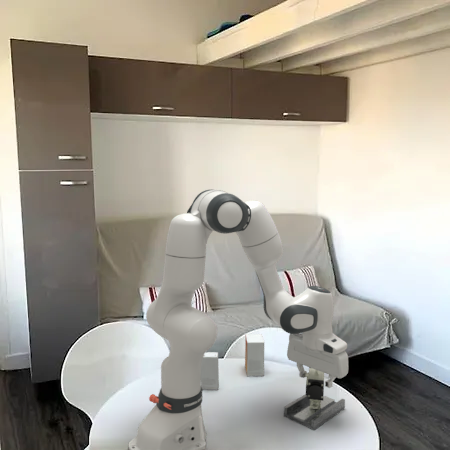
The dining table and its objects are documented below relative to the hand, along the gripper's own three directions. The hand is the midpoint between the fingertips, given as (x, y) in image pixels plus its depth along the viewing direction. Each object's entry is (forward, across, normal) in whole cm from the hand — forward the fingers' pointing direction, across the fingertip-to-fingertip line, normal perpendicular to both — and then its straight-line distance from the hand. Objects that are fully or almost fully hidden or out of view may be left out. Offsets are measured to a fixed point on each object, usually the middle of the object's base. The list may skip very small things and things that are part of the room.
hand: (315, 381), depth 157 cm
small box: (+10, -32, +9) cm, 35 cm away
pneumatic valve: (+9, 0, 0) cm, 9 cm away
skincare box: (+11, -35, -11) cm, 38 cm away
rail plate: (+10, 0, 0) cm, 10 cm away
